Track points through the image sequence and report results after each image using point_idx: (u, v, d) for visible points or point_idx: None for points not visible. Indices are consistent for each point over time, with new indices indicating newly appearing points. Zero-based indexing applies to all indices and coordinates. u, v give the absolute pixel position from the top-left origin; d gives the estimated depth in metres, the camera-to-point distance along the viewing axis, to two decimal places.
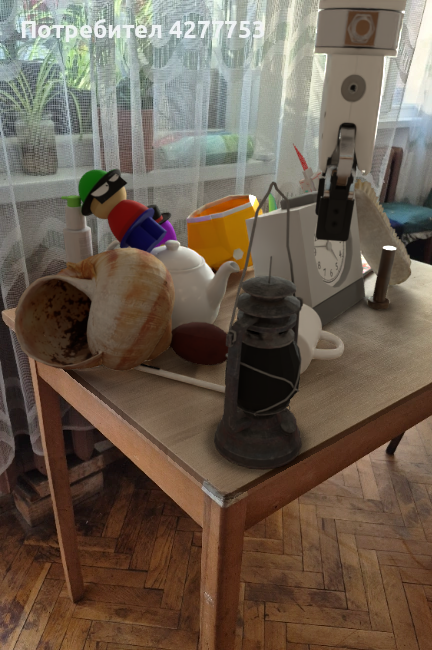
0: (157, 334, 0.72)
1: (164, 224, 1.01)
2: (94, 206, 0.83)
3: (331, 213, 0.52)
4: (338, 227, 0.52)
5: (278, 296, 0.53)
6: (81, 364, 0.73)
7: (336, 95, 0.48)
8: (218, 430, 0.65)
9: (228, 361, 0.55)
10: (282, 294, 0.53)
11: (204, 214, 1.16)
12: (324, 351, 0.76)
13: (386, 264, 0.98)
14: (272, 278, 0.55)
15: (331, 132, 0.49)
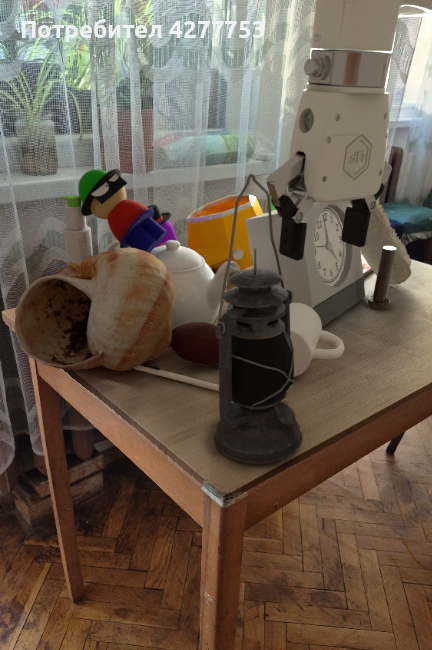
0: (157, 334, 0.72)
1: (164, 224, 1.01)
2: (94, 206, 0.83)
3: (283, 231, 0.56)
4: (287, 245, 0.57)
5: (264, 285, 0.54)
6: (81, 364, 0.73)
7: (296, 126, 0.53)
8: (217, 428, 0.65)
9: (220, 354, 0.56)
10: (268, 283, 0.54)
11: (204, 214, 1.16)
12: (324, 351, 0.76)
13: (386, 264, 0.98)
14: (258, 270, 0.56)
15: (291, 158, 0.54)
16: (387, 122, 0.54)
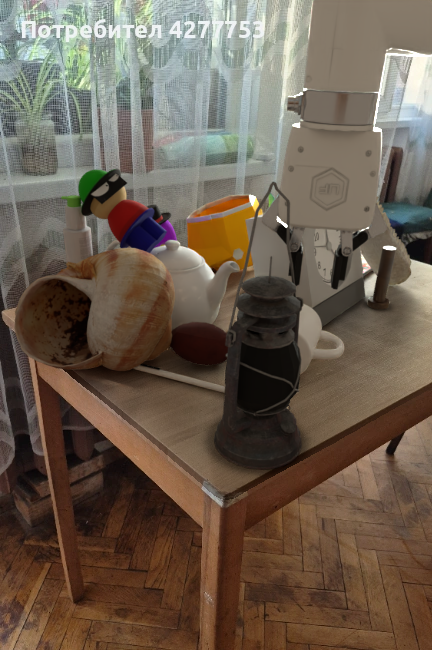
0: (157, 334, 0.72)
1: (164, 224, 1.01)
2: (94, 206, 0.83)
3: None
4: None
5: (278, 296, 0.53)
6: (81, 364, 0.73)
7: None
8: (218, 430, 0.65)
9: (228, 361, 0.55)
10: (282, 294, 0.53)
11: (204, 214, 1.16)
12: (324, 351, 0.76)
13: (386, 264, 0.98)
14: (272, 278, 0.55)
15: None
16: (373, 160, 0.54)
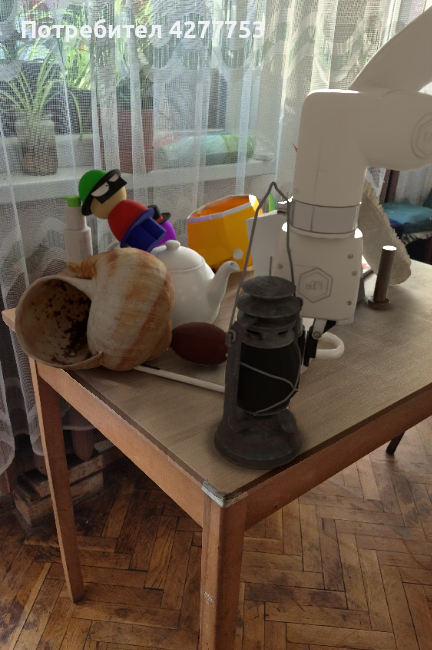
0: (157, 334, 0.72)
1: (164, 224, 1.01)
2: (94, 206, 0.83)
3: None
4: None
5: (278, 296, 0.53)
6: (81, 364, 0.73)
7: None
8: (218, 430, 0.65)
9: (228, 361, 0.55)
10: (282, 294, 0.53)
11: (204, 214, 1.16)
12: (324, 351, 0.76)
13: (386, 264, 0.98)
14: (272, 278, 0.55)
15: None
16: (355, 262, 0.60)
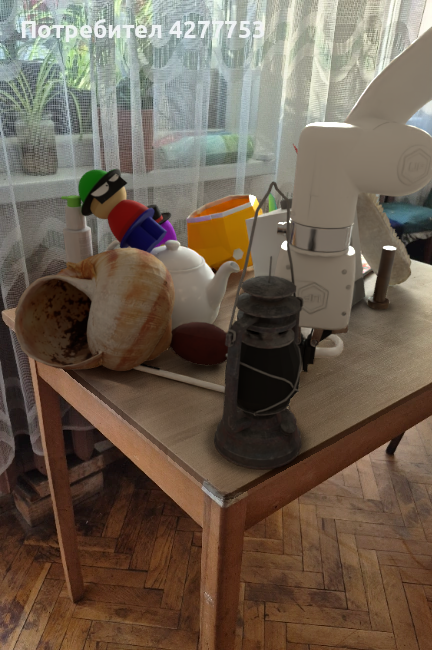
0: (157, 334, 0.72)
1: (164, 224, 1.01)
2: (94, 206, 0.83)
3: None
4: None
5: (278, 296, 0.53)
6: (81, 364, 0.73)
7: None
8: (218, 430, 0.65)
9: (228, 361, 0.55)
10: (282, 294, 0.53)
11: (204, 214, 1.16)
12: (324, 349, 0.77)
13: (386, 264, 0.98)
14: (272, 278, 0.55)
15: None
16: (348, 277, 0.65)
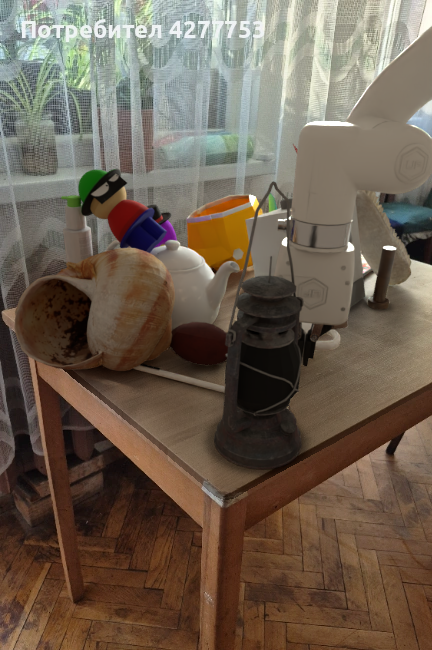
0: (157, 334, 0.72)
1: (164, 224, 1.01)
2: (94, 206, 0.83)
3: None
4: None
5: (278, 296, 0.53)
6: (81, 364, 0.73)
7: None
8: (218, 430, 0.65)
9: (228, 361, 0.55)
10: (282, 294, 0.53)
11: (204, 214, 1.16)
12: (323, 342, 0.79)
13: (386, 264, 0.98)
14: (272, 278, 0.55)
15: None
16: (347, 273, 0.67)
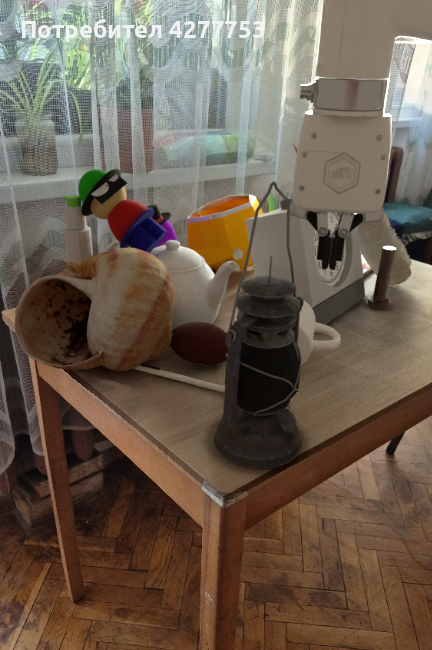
0: (157, 334, 0.72)
1: (164, 224, 1.01)
2: (94, 206, 0.83)
3: (318, 242, 0.66)
4: (317, 254, 0.66)
5: (278, 296, 0.53)
6: (81, 364, 0.73)
7: None
8: (218, 430, 0.65)
9: (228, 361, 0.55)
10: (282, 294, 0.53)
11: (204, 214, 1.16)
12: (323, 342, 0.79)
13: (386, 264, 0.98)
14: (272, 278, 0.55)
15: None
16: (384, 144, 0.57)
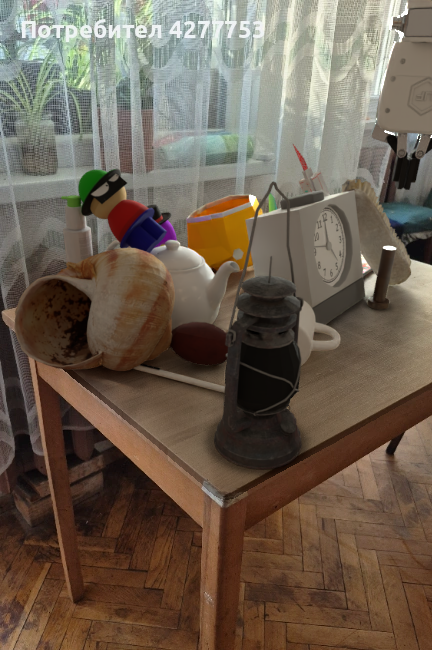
0: (157, 334, 0.72)
1: (164, 224, 1.01)
2: (94, 206, 0.83)
3: (394, 165, 0.74)
4: (393, 176, 0.74)
5: (278, 296, 0.53)
6: (81, 364, 0.73)
7: None
8: (218, 430, 0.65)
9: (228, 361, 0.55)
10: (282, 294, 0.53)
11: (204, 214, 1.16)
12: (323, 342, 0.79)
13: (386, 264, 0.98)
14: (272, 278, 0.55)
15: (379, 96, 0.71)
16: None
